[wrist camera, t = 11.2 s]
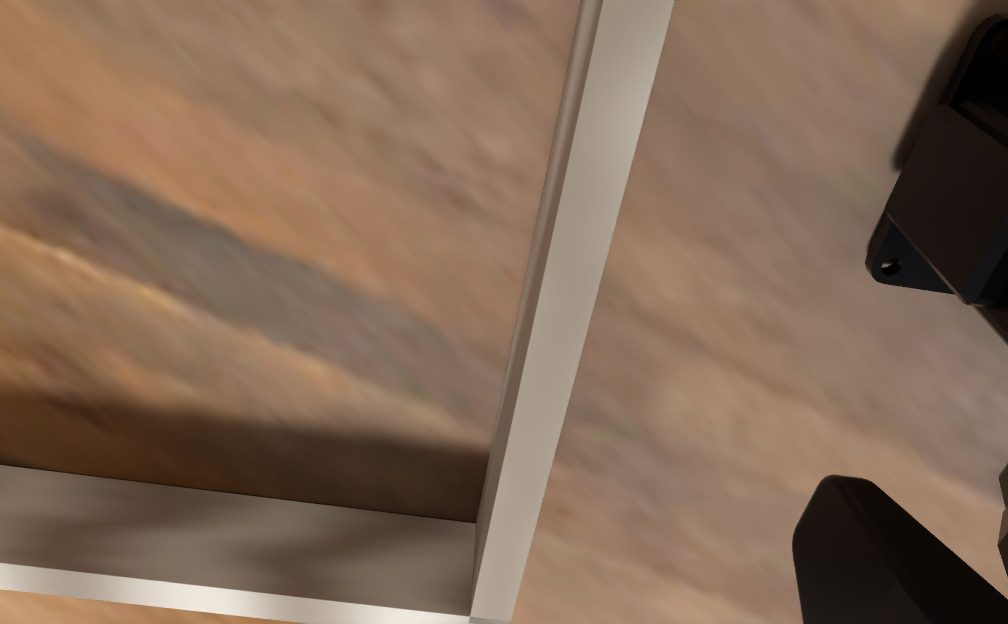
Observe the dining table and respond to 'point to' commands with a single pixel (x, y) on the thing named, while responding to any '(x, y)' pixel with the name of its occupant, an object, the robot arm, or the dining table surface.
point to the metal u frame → (363, 533)
